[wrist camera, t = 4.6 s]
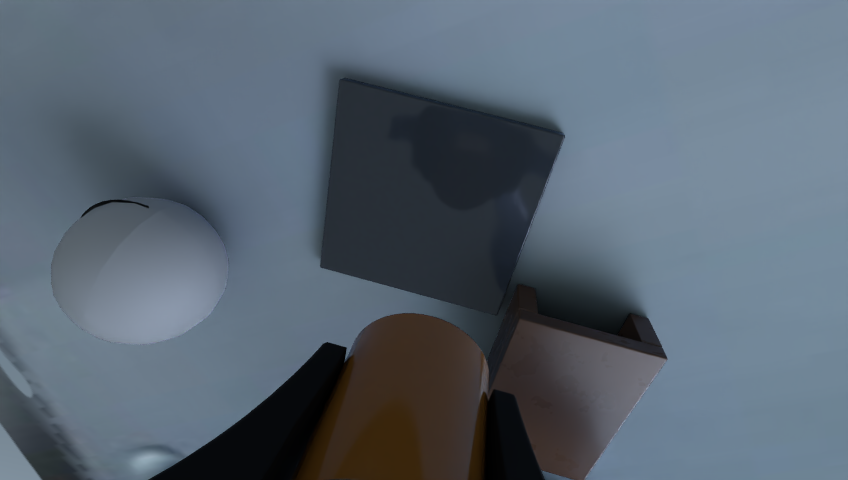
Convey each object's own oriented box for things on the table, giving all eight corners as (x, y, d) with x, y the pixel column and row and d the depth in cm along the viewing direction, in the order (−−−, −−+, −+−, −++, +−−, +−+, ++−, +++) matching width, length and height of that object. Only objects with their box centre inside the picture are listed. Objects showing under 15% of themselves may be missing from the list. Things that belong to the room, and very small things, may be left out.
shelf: (575, 437, 27) (583, 483, 24) (468, 407, 27) (464, 448, 24) (648, 318, 22) (668, 358, 19) (517, 282, 22) (519, 318, 19)
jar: (470, 434, 14) (452, 677, 9) (340, 397, 14) (248, 614, 9) (511, 334, 12) (519, 580, 7) (357, 291, 12) (249, 498, 7)
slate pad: (496, 309, 23) (496, 316, 22) (323, 262, 23) (319, 267, 23) (563, 132, 18) (565, 135, 18) (343, 77, 19) (339, 78, 18)
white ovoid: (232, 171, 22) (119, 234, 15) (269, 290, 25) (190, 383, 19) (74, 178, 24) (-86, 237, 17) (128, 288, 27) (11, 372, 21)
